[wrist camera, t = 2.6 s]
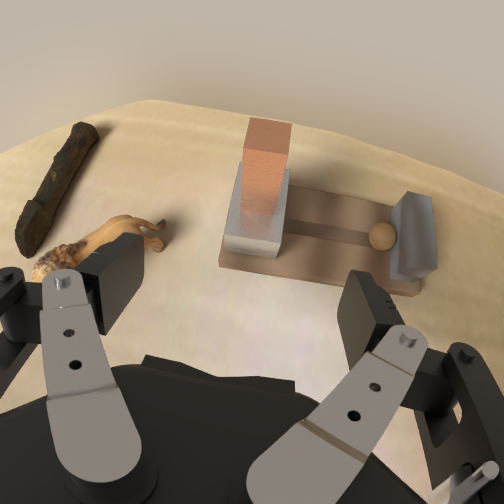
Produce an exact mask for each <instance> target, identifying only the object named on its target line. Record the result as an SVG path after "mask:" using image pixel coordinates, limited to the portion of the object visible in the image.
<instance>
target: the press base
mask: <svg viewBox="0 0 504 504" xmlns="http://www.w3.org/2000/svg"><path fill="white" fill-rule="evenodd" d="M235 181H236V180H235ZM234 185H235V184H234ZM233 190H234V189H233ZM232 195H233V193H232ZM231 199H232V198H231ZM230 204H231V202H230ZM229 208H230V207H229ZM228 213H229V211H228ZM227 218H228V216H227ZM380 222H385V223H388V224H390V225H391V226H392V227H393V228H394V229H395V232H396V241H395V244H394V245H393V246H392V247H391V248H390V249H388V250H385V251H380V250H377V249H375V248H374V247H373V246H372V245H371V243H370V240H369V232H370V230H371V228H372V227H373V226H374V225H375V224H377V223H380ZM226 223H227V221H226ZM225 227H226V226H225ZM224 232H225V231H224ZM218 262H219V267H223V268H229V269H235V270H241V271H247V272H253V273H259V274H265V275H272V276H278V277H284V278H290V279H296V280H303V281H309V282H315V283H322V284H328V285H335V286H341V287H345V284H346V280H347V277H348V274H349V272H350V271H351V270H358V271H365V272H370V273H371V275H372V277H373V279H374V280H375V282H376V284H377V286H381V287H382V288H383V289H384V290H385V291H386V292H387V293H389V294H395V295H402V296H409V297H413V296H415V295H417V294H419V293H421V278H422V277H424V276H425V275H427V274H429V273H430V272H432V271H434V270H435V269H437V252H436V239H435V227H434V217H433V208H432V200H431V197H428V196H424V195H420V194H417V193H413V192H409V191H408V192H407V193H406V194H405V195H404V196H403V197H402V199H401V200H400V201H399V202H398V203H397V204H396V206H395V207H393V206H389V205H384V204H380V203H375V202H371V201H366V200H362V199H357V198H352V197H348V196H343V195H338V194H333V193H328V192H323V191H318V190H313V189H307V188H302V187H296V186H291V185H288V192H287V200H286V208H285V216H284V224H283V231H282V239H281V245H280V248H279V250H278V253H277V256H276V259H272V258H266V257H260V256H254V255H248V254H242V253H236V252H230V251H225V241H224V235H223V240H222V245H221V250H220V255H219V260H218Z"/></svg>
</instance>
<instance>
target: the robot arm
mask: <svg viewBox="0 0 504 504" xmlns="http://www.w3.org/2000/svg"><path fill="white" fill-rule="evenodd" d="M143 277H144V237H143V235H141V234H135V233H129V232H123V233H122V234H121V235H120V236H119V237H117V238H116V239H115V240H114V241H113V242H108V243H106V244H103V245H101V246H99V247H98V248H97V249H96V250H95V251H93V253H91V254H90V255H89V256H88V258H85V259H84V260H83V261H82V262H81V263H80V264H78V265H77V266H76V267H75V268H74V269H73V270H72V269H59V270H55V271H52V272H50V273H48V274H47V275H46V276H45V277H44V278H43V280H42V283H39V282H25V277H24V273H23V271H22V270H21V269H20V268H17V267H6V268H2V269H0V321H1V324H2V327H3V331H2V332H1V334H0V399H1V397H2V396H3V394H4V392H5V391H6V389H7V388H8V386H9V385H10V383H11V382H12V381H13V379H14V378H15V376H16V375H17V373H18V372H19V370H20V369H21V368H22V366H23V365H24V363H25V362H26V360H27V359H28V358H29V356H30V355H31V354H32V352H33V351H34V349H35V348H36V347H37V345H38V344H42V355H43V365H44V373H45V381H46V388H47V395H46V396H43V397H41V398H39V399H36V400H34V401H32V402H29V403H27V404H24V405H22V406H19V407H17V408H15V409H12V410H10V411H7V412H5V413H2V414H0V504H504V396H503V394H502V392H501V391H500V389H499V387H498V385H497V383H496V381H495V379H494V377H493V376H492V374H491V372H490V370H489V368H488V367H487V365H486V363H485V361H484V360H483V358H482V356H481V355H480V353H479V352H478V351H477V350H476V349H474V348H473V347H471V346H469V345H467V344H465V343H460V342H456V343H453V344H451V346H450V347H449V349H448V351H447V353H443V352H440V351H436V350H433V349H430V348H427V347H428V341H427V339H426V338H425V336H424V335H423V334H422V333H421V332H419V331H418V330H416V329H414V328H412V327H409V326H406V325H405V323H404V321H403V319H402V318H401V316H400V314H399V312H398V310H396V306H395V304H394V303H393V301H392V299H391V297H390V295H389V294H388V293H387V292H386V291H385V290H384V289H383V288H382V287H381V286H377V284H376V282H375V280H374V279H373V277H372V275H371V273H370V272H365V271H358V270H351V271H350V272H349V274H348V277H347V280H346V284H345V287H344V290H343V293H342V296H341V299H340V302H339V306H338V312H337V319H338V324H339V328H340V332H341V336H342V340H343V344H344V348H345V352H346V357H347V361H348V365H349V370H350V372H349V373H348V374H347V375H346V376H345V377H344V379H343V380H342V381H341V382H340V383H339V384H338V385H337V386H336V387H335V389H334V390H333V391H332V392H331V393H330V394H329V395H328V396H327V397H326V398H325V399H324V400H323V401H322V402H321V403H319V402H317V401H315V400H314V399H312V398H310V397H308V396H305V395H303V394H300V393H297V392H295V381H292V380H283V379H275V378H268V377H261V376H247V377H217V376H213V375H211V374H208V373H206V372H203V371H201V370H198V369H196V368H193V367H191V366H188V365H186V364H183V363H181V362H177V361H172V360H167V359H163V358H159V357H154V356H150V355H145V357H144V359H143V361H142V363H141V364H128V365H120V366H116V367H112V368H110V366H109V363H108V360H107V357H106V354H105V351H104V348H103V345H102V341H101V338H100V335H99V334H101V335H105V336H106V335H107V333H108V332H109V330H110V329H111V327H112V326H113V324H114V323H115V321H116V320H117V319H118V317H119V316H120V314H121V313H122V311H123V310H124V309H125V307H126V306H127V304H128V303H129V301H130V300H131V299H132V297H133V296H134V294H135V293H136V292H137V290H138V289H139V288H140V286H141V284H142V281H143ZM458 401H459V404H460V406H461V409H462V418H461V421H460V423H459V424H458V421H457V419H456V416H455V413H454V411H453V408H454V407H455V405H456V404H457V403H458ZM399 406H402V407H406V408H410V409H413V410H414V414H415V418H416V422H417V425H418V429H419V433H420V437H421V441H422V445H423V449H424V453H425V458H426V462H427V467H428V471H429V476H430V481H431V486H432V492H431V494H430V495H429V497H428V501H427V502H426V501H425V500H423V499H422V498H421V497H420V496H419V495H418V494H417V493H416V492H414V491H413V490H412V489H411V488H410V487H409V486H408V485H407V484H406V483H404V482H403V481H402V480H401V479H400V478H399V477H398V476H397V475H396V474H395V473H394V472H392V471H391V470H390V469H389V468H388V467H387V466H386V465H385V464H384V463H383V462H382V461H381V460H380V459H379V458H378V457H376V456H375V455H374V454H373V453H372V450H373V449H374V447H375V446H376V444H377V442H378V441H379V439H380V438H381V436H382V435H383V433H384V431H385V430H386V428H387V426H388V425H389V423H390V421H391V420H392V418H393V416H394V414H395V413H396V411H397V409H398V407H399Z"/></svg>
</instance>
